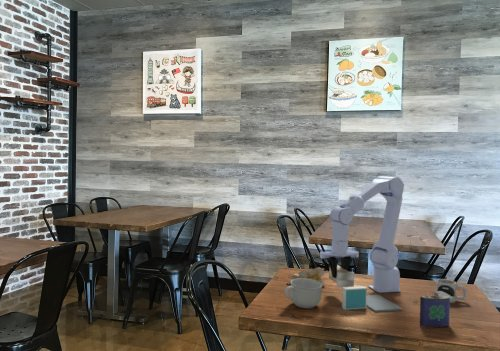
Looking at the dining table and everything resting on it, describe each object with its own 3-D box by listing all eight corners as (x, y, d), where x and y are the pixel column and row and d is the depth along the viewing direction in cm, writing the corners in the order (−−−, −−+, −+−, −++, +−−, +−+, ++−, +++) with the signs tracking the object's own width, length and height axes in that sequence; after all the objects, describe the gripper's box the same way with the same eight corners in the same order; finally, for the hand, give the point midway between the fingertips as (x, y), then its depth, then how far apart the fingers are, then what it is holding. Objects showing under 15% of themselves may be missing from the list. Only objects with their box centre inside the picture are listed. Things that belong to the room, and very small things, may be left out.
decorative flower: (318, 274, 179) (320, 252, 176) (332, 288, 169) (334, 265, 166) (285, 279, 174) (287, 257, 171) (298, 294, 164) (299, 270, 161)
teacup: (311, 299, 152) (312, 276, 152) (327, 309, 142) (328, 285, 142) (276, 303, 147) (276, 280, 147) (290, 313, 137) (290, 289, 137)
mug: (435, 300, 153) (436, 282, 153) (435, 295, 159) (436, 278, 159) (466, 305, 149) (467, 286, 149) (465, 300, 155) (466, 282, 155)
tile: (363, 306, 146) (363, 286, 145) (366, 308, 144) (367, 288, 143) (341, 307, 144) (342, 287, 143) (344, 310, 142) (345, 289, 141)
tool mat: (378, 296, 157) (378, 294, 157) (401, 310, 142) (402, 308, 142) (353, 297, 155) (353, 295, 155) (375, 312, 140) (375, 310, 140)
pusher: (340, 277, 161) (340, 264, 161) (353, 286, 150) (354, 272, 150) (325, 278, 160) (325, 264, 159) (338, 287, 149) (338, 273, 149)
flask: (446, 323, 131) (447, 289, 131) (451, 327, 128) (453, 292, 128) (417, 324, 130) (419, 289, 130) (422, 328, 127) (423, 293, 127)
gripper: (325, 242, 149) (324, 281, 150) (363, 241, 153) (362, 279, 153) (318, 239, 156) (316, 275, 157) (354, 238, 159) (352, 274, 160)
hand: (338, 277), depth 155 cm, fingers closed on pusher, 3 cm apart
